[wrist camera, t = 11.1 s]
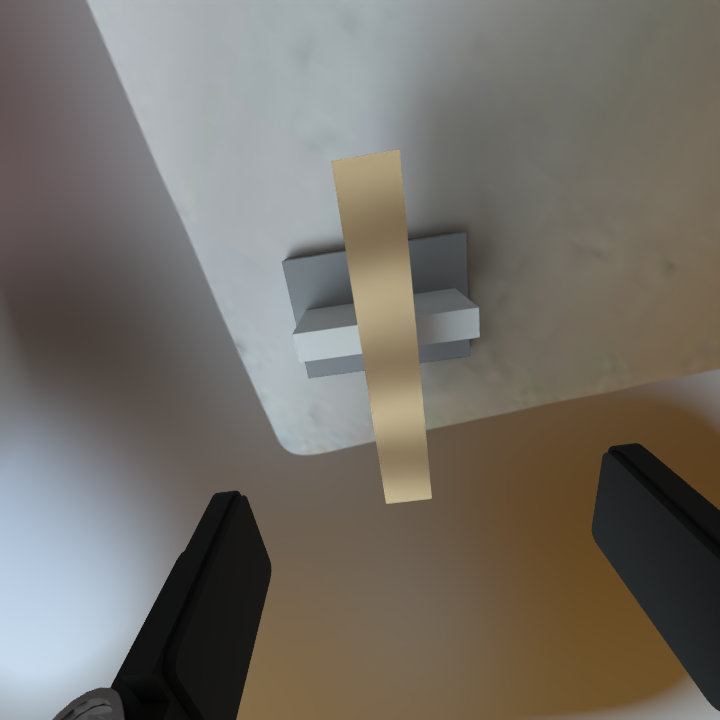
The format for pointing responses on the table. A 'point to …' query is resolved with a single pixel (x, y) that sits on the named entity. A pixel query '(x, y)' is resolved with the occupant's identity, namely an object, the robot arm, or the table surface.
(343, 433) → the table surface
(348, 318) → the fulcrum
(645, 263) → the table surface
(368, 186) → the rod
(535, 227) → the table surface
